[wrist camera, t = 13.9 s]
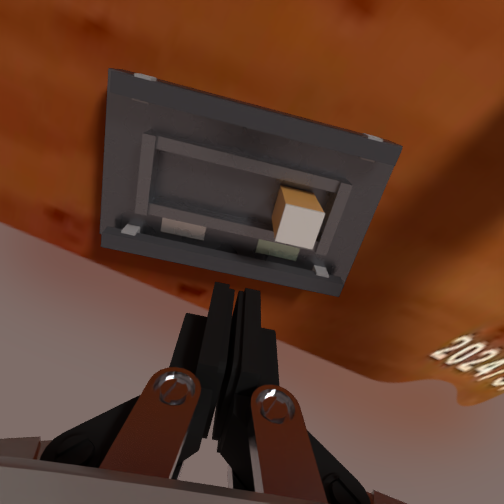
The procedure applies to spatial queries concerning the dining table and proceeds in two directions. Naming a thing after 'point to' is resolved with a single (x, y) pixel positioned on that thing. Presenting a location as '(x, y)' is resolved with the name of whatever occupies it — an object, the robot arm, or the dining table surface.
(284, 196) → the block
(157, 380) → the robot arm
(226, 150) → the panel
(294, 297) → the dining table surface
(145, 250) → the pair of grey rails
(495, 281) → the dining table surface
